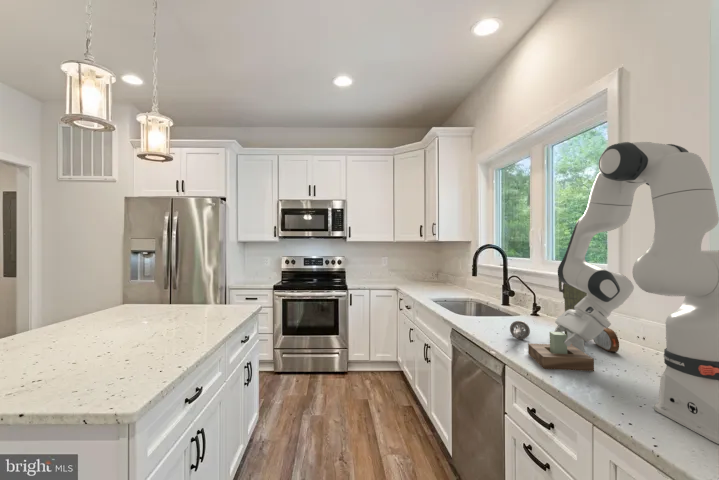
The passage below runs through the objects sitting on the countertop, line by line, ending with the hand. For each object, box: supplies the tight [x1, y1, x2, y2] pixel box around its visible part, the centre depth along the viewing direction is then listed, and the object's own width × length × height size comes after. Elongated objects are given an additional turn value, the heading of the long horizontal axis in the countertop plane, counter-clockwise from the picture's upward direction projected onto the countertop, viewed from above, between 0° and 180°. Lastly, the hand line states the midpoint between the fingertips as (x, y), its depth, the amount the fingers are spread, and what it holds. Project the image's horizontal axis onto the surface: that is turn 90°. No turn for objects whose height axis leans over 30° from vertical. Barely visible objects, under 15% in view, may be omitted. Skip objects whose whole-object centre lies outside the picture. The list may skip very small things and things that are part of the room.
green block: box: [549, 331, 567, 354], centre depth 113 cm, size 4×4×9 cm
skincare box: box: [567, 331, 586, 354], centre depth 126 cm, size 6×4×12 cm
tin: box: [593, 327, 620, 353], centre depth 127 cm, size 15×3×8 cm, turn 168°
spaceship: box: [509, 320, 531, 340], centre depth 142 cm, size 8×35×8 cm
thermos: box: [557, 276, 587, 335], centre depth 142 cm, size 9×12×35 cm
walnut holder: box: [527, 343, 595, 372], centre depth 113 cm, size 15×15×4 cm
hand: (559, 340), depth 113 cm, fingers open, 8 cm apart
